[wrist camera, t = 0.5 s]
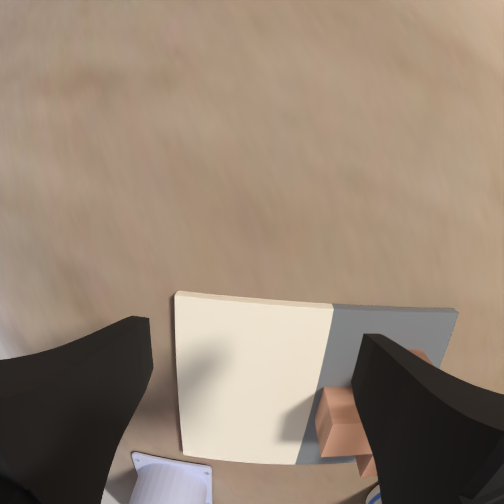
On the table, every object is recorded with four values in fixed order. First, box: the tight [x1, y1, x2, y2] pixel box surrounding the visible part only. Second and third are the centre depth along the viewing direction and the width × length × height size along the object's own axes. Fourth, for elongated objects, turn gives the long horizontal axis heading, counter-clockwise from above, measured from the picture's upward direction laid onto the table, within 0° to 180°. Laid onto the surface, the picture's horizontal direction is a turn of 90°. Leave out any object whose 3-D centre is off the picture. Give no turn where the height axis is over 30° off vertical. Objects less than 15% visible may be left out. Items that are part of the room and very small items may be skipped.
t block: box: [315, 349, 434, 477], centre depth 19 cm, size 7×10×4 cm
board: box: [175, 291, 459, 464], centre depth 22 cm, size 16×20×1 cm
